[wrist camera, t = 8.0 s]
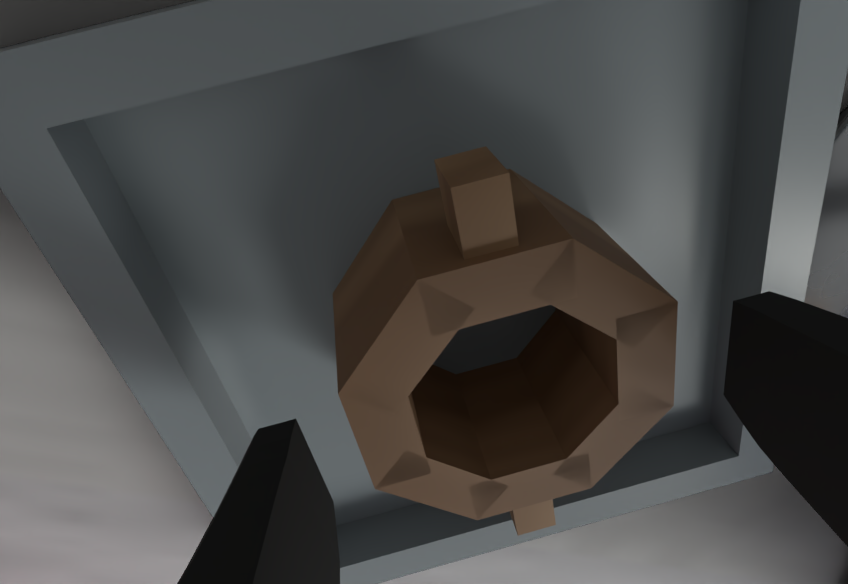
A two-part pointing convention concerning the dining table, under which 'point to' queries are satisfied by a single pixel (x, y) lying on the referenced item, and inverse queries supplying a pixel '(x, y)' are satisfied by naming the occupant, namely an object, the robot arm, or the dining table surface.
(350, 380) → the ring
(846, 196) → the grey round piece
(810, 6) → the tray
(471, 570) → the dining table surface
